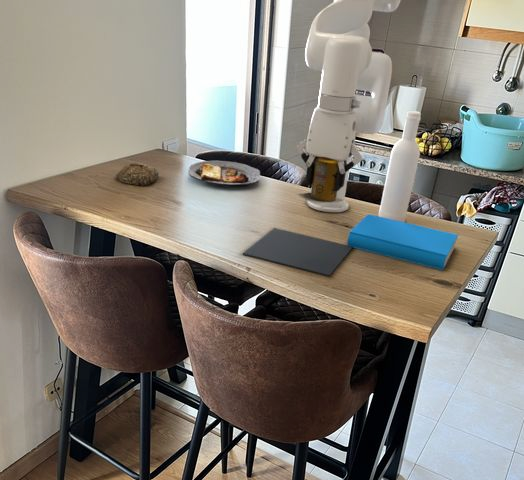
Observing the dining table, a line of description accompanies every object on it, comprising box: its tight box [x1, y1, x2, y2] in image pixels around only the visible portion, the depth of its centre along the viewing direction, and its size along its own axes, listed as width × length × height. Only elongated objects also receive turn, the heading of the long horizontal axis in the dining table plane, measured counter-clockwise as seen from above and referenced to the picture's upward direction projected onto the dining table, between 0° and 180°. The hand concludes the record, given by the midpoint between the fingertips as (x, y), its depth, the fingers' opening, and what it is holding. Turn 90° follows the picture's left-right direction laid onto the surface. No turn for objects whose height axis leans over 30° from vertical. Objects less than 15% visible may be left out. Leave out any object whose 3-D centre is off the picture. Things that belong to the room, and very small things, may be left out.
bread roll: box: [115, 162, 159, 187], centre depth 176 cm, size 13×12×5 cm
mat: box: [242, 227, 354, 278], centre depth 140 cm, size 20×22×1 cm
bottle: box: [378, 110, 422, 223], centre depth 156 cm, size 8×8×30 cm
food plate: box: [187, 160, 261, 186], centre depth 185 cm, size 25×23×4 cm
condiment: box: [296, 157, 343, 204], centre depth 129 cm, size 7×8×12 cm
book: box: [346, 213, 459, 271], centre depth 147 cm, size 17×4×25 cm
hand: (324, 185), depth 130 cm, fingers closed on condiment, 6 cm apart
